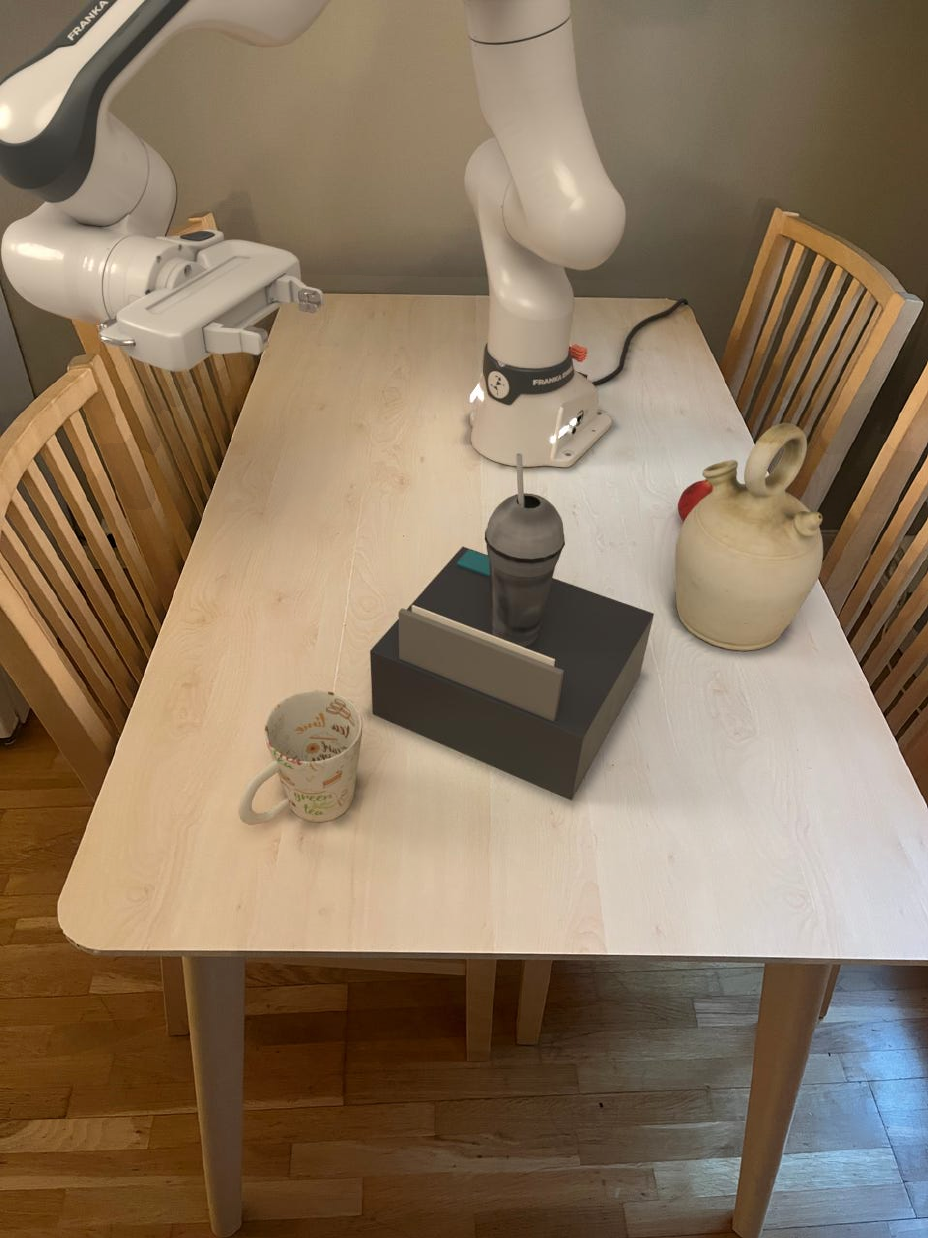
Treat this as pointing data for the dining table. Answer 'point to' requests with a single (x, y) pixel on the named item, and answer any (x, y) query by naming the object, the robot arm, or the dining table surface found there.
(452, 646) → the printer
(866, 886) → the dining table surface
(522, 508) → the beverage cup
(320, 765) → the mug
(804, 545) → the jug
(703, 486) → the red pomegranate
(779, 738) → the dining table surface
